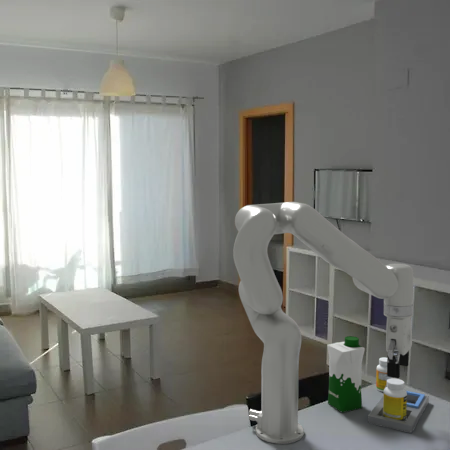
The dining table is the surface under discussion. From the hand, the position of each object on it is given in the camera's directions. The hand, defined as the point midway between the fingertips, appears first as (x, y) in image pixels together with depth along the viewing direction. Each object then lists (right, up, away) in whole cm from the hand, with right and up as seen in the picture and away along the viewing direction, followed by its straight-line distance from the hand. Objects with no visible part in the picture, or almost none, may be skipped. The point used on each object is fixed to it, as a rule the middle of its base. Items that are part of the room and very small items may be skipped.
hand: (398, 371), depth 152 cm
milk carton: (-12, -13, +11) cm, 21 cm away
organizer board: (+2, -13, +6) cm, 15 cm away
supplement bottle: (+3, -12, +22) cm, 26 cm away
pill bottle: (-1, -14, +1) cm, 14 cm away
